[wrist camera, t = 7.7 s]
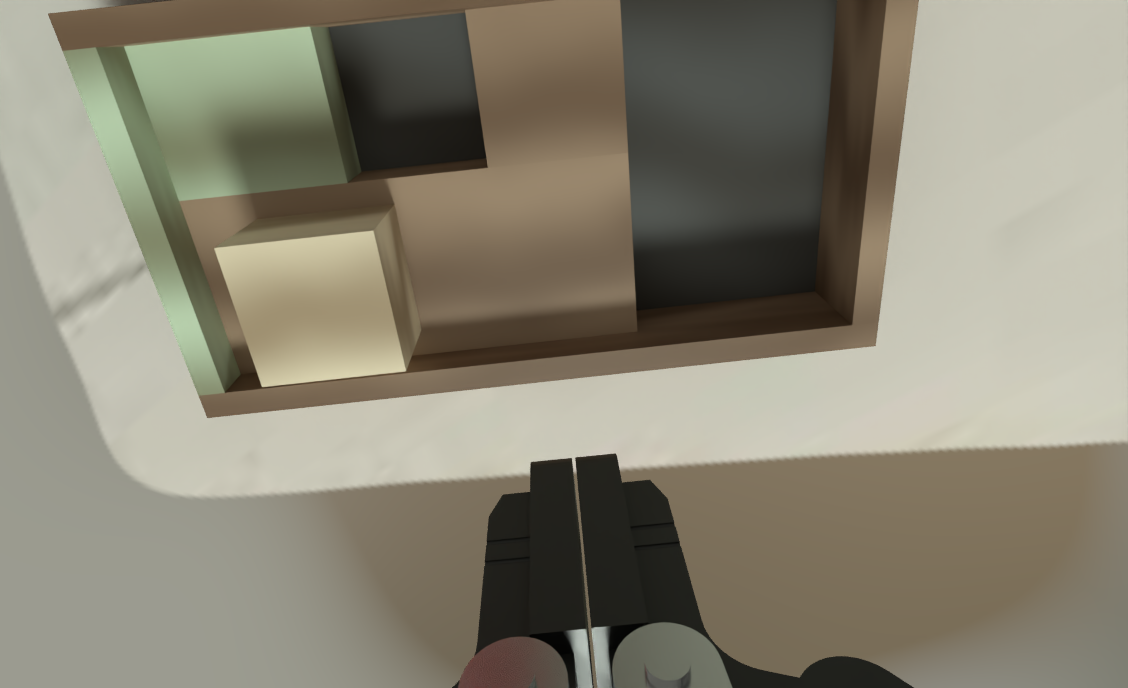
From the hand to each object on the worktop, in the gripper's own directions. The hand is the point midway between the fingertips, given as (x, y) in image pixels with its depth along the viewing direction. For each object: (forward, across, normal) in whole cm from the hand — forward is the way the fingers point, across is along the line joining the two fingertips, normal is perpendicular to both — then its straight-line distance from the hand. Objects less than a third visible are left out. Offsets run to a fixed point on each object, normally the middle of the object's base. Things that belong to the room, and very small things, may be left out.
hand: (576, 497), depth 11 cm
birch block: (+14, +8, 0) cm, 16 cm away
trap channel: (+17, +1, -2) cm, 17 cm away
